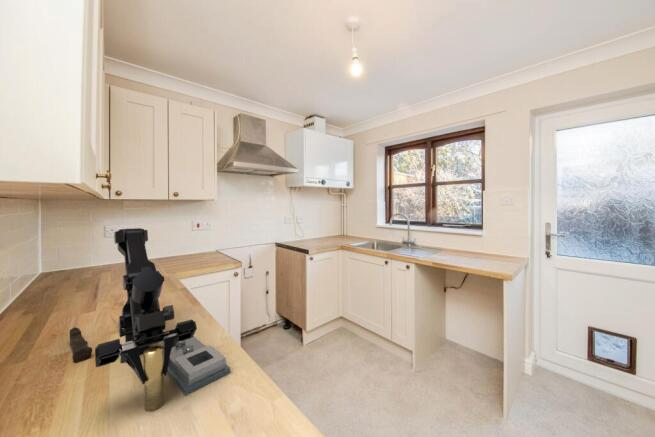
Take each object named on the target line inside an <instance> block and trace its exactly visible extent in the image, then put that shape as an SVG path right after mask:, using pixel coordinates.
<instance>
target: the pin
mask: <svg viewBox="0 0 655 437" xmlns="http://www.w3.org/2000/svg"><path fill="white" fill-rule="evenodd" d="M151 346H152V345H151ZM162 346H163V345H153V346H152V347H150V348H147V349H146V350H145V351H144V352H143V370H144V374H145V384H143V387H144V389H143V390H144V391H143V392H144V411H146V412H149V413H150V412H151V413H152V412H155V411H156V410H159V409H161V407H162V406H163V405H164V404H165V390H164V386H165V383H164V377H165V376H164V373H163V347H162Z"/></svg>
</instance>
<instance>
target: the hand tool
mask: <svg viewBox="0 0 655 437" xmlns="http://www.w3.org/2000/svg"><path fill="white" fill-rule="evenodd" d="M88 343H89V342H88V341H87V340H85V338H84V336H83V335H82V331H81V329H80V328H79V327H72V328H71V329H69V345H70V347H71V350H72V362H73V363H74V364H78V363H82V362H84V361H87V360H89V359H90V358H91V357H92V353H93V348H92V347H90V346H89V344H88Z"/></svg>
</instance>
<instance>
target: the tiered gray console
mask: <svg viewBox="0 0 655 437" xmlns="http://www.w3.org/2000/svg"><path fill="white" fill-rule="evenodd" d="M161 346H162V347H163V345H161ZM230 373H231V367H230V366H229V365H228V364H227V357H226V356H224V355H223V354H222V353H221V352H219V351H218V349H216V348H215V347H214V346H212V345H211V344H209V345H205V344H203V342H202V341H200V340H199V339H198V338H197V337H196V336H193V337H192V338H190V339H187V340H184V341H180V342H177V345H176V346H175V347H172V349H171V353H170V358H169V364H168V370H167V375H168V376H169V377H170V379H171V380H172V381H173V382H174V384H175V385H176V386H177V388H178V389H179V391H180V392H181V393H182V394H183V396H184V397H186V396H188V395H190V394H191V393H193V392H195V391H197V390H199V389H201V388H203V387H205V386H207V385H210V384H211V383H213V382H215V381H217V380H219V379H220V378H223V377H225V376H227V375H229V374H230Z"/></svg>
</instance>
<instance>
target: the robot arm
mask: <svg viewBox="0 0 655 437" xmlns="http://www.w3.org/2000/svg"><path fill="white" fill-rule="evenodd" d="M148 232H149V231H148V229H144V228H140V227H137V228H119V229H118V230H116V231H114V234H113V235H114V236H113V237H114V239H113V240H114V244H117V251H118V252H119V253H120V254H121V255H123V257H124V258H123V259H124V270H125V274H124V275H122V287H123V289H122V290H124V291H126V296H127V297H126V299H127V300H126V302H125V304H124V305H123V307H122V310H121V315H119V316H118V334H119V337H120V338H122V337H124V342H122V343H121V341H120V338H117V339H113V340H110V341H105V342H102V343H99V344H97V345H96V346H95V348H94V357H95V358H94V362H95V363H94V364H95V367H96V368H99V367H104V366H106V365H110V364H113V363H116V362H117V360H119V362H120V364H127V365H128V366H129V367H130V368H131V369H132V370H133V371H134V373H135V375H136V376H137V378H138V379H139V381H140V382H141V384H142V385H144V384H145V374H144V365H143V363H142V360H141V354H144V351H145V350H146V349H147V348H150V347H152V345H154V344H157V343H161V342H162V343H163V345H162V346H163V376H164V377H166V376H167V375H168V373H167V370H168V364H169V358H170V353H171V349H172V347H175V346H176V345H177V342H180V341H184V340H187V339H190V338H192V337H193V336H194V335H195V333H196V332H197V329H198V327H197V322H196V321H195V320H194V319H189V320H185V321H180V322H177V323H176V324H175V328H174V329H170V330H166V328H167V327H166V324H167V323H166V322H167V321H168V322H169V321H172V320H174V319H175V310H174V306H173V304H172V305H171V304H170V305H166V306H164V307H162V310H161V308H160V301H159V298H160V296H161V293H162V289H163V284H164V282H165V276H164V275H163V274H162V273H160V271H159V270H157V268H156V265H155V263H154V262H152V261H151V260H149V257H148V254H147V253H148V252H147V248H146V242H147V243H148V241H149V234H148ZM164 330H166V331H164ZM194 337H195V336H194ZM119 358H120V359H119Z"/></svg>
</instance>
